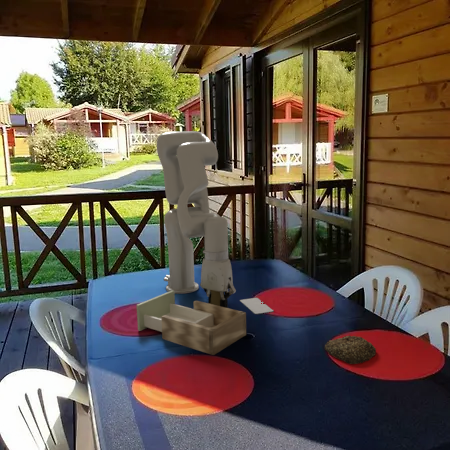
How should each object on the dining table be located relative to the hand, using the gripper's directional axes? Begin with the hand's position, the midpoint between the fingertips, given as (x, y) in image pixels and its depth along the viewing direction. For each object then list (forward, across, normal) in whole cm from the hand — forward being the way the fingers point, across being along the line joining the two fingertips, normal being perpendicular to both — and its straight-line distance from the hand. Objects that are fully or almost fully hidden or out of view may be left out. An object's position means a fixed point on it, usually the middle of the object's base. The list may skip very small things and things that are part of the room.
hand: (218, 308), depth 157 cm
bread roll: (+3, +47, -2) cm, 47 cm away
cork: (+2, 0, 0) cm, 2 cm away
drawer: (+2, -4, -16) cm, 17 cm away
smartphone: (+3, +6, +14) cm, 16 cm away
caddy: (+2, +7, -16) cm, 18 cm away
